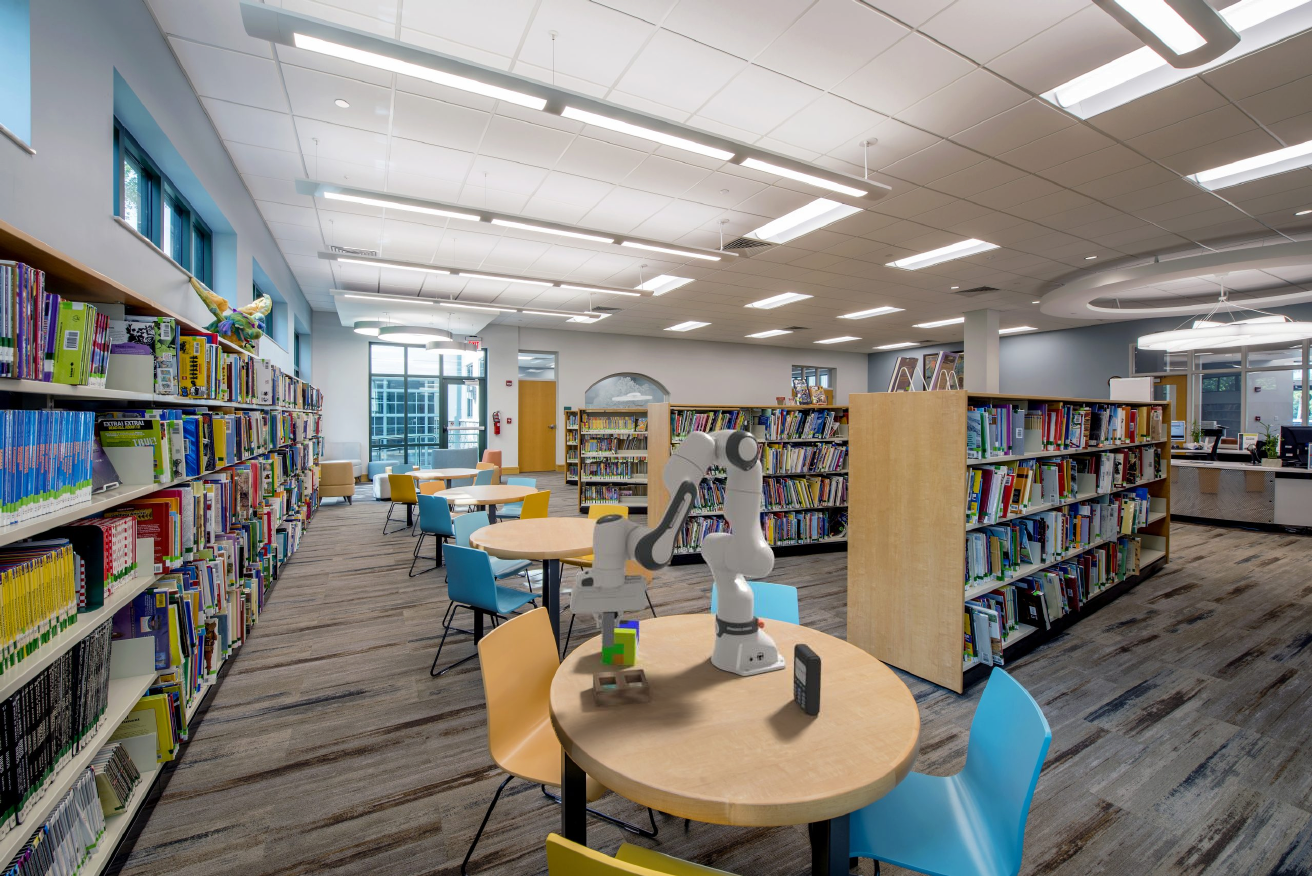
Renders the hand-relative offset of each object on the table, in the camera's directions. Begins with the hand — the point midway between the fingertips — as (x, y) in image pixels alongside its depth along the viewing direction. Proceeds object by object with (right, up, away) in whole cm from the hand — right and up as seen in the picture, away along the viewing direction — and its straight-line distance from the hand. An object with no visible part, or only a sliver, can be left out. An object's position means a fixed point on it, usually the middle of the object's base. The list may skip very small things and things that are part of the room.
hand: (607, 627), depth 142 cm
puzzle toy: (+2, -18, +24) cm, 30 cm away
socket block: (+3, -19, +1) cm, 19 cm away
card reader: (+52, -20, -3) cm, 56 cm away
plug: (0, -5, 0) cm, 5 cm away
